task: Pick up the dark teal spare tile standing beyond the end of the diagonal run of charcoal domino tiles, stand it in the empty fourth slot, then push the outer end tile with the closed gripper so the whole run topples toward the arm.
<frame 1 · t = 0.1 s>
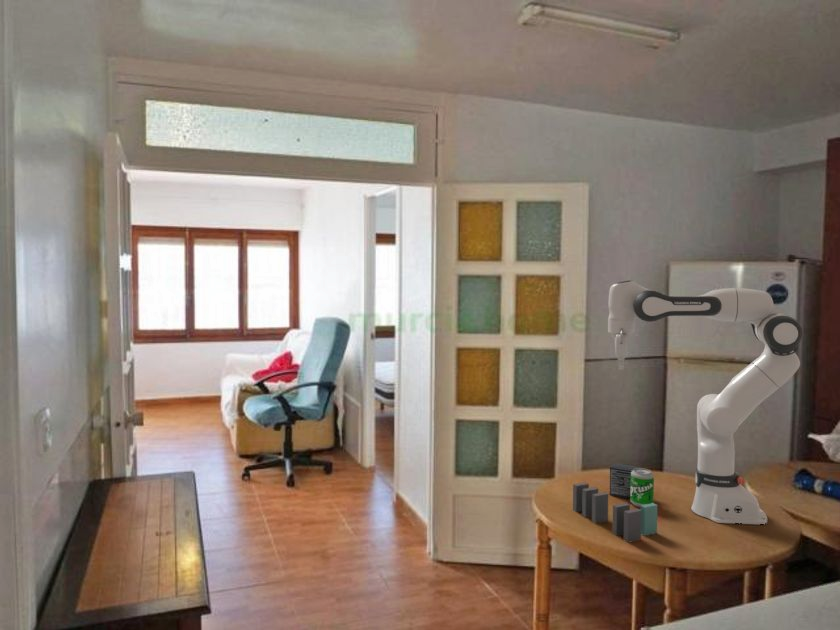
hand: (620, 367, 208), 48 cm above the table, fingers open, 8 cm apart
soda can: (641, 505, 209), on the table
domino 1: (580, 510, 205), on the table
domino 3: (599, 521, 196), on the table
domino 2: (590, 515, 200), on the table
small box: (626, 495, 218), on the table
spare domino: (648, 533, 186), on the table
domino 5: (620, 533, 186), on the table
domino 6: (632, 539, 182), on the table
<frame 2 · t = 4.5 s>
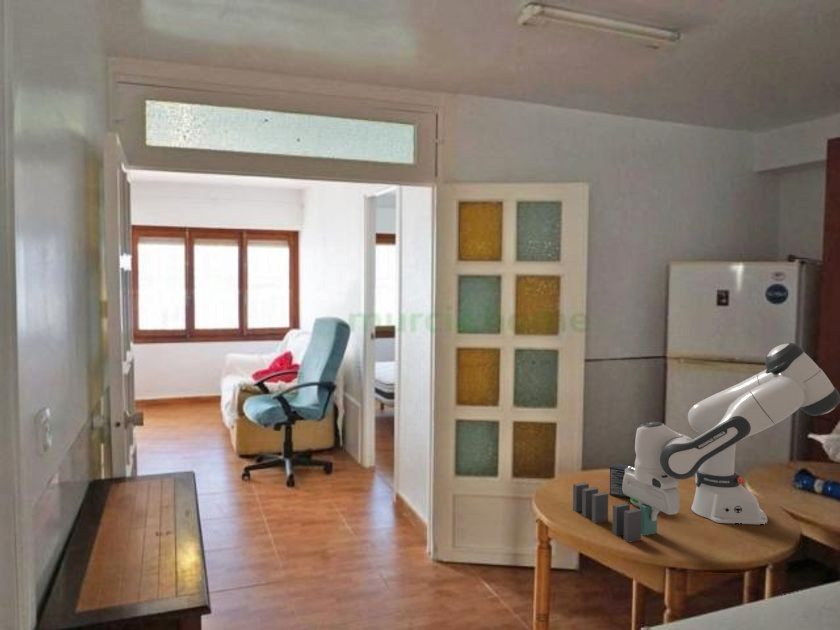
hand: (648, 518, 186), 5 cm above the table, fingers closed on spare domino, 2 cm apart
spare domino: (648, 533, 186), on the table, touching gripper
everything else where it was.
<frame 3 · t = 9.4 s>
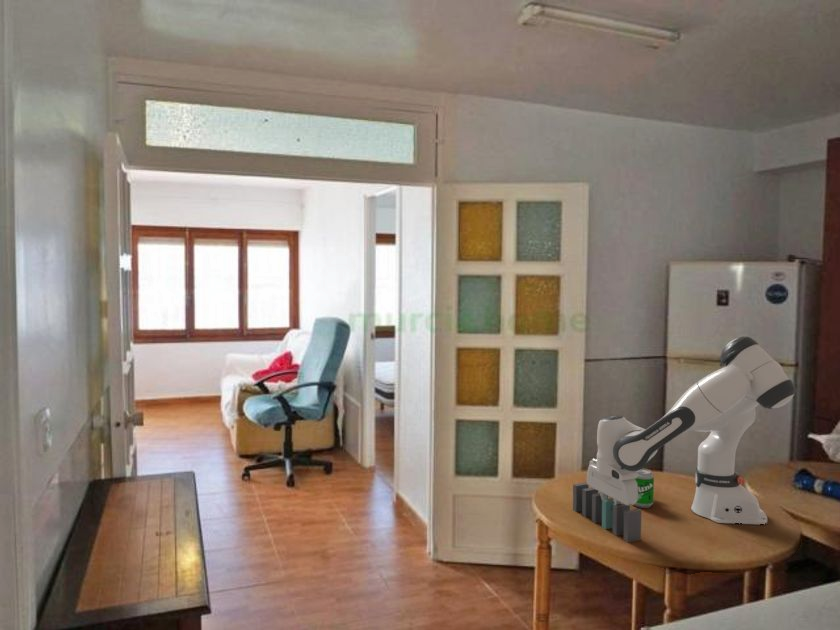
hand: (610, 508, 191), 6 cm above the table, fingers open, 3 cm apart
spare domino: (609, 527, 191), on the table
everything else where it was.
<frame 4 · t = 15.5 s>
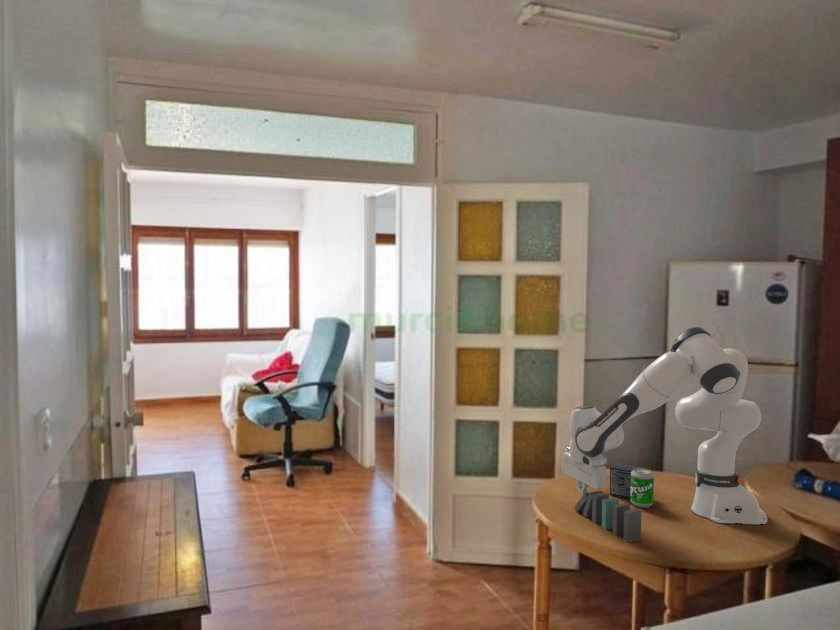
hand: (582, 493, 204), 6 cm above the table, fingers closed
domino 1: (581, 508, 205), point 1 cm above the table, tilted 41°
domino 2: (590, 514, 200), on the table, tilted 23°
everything else where it was.
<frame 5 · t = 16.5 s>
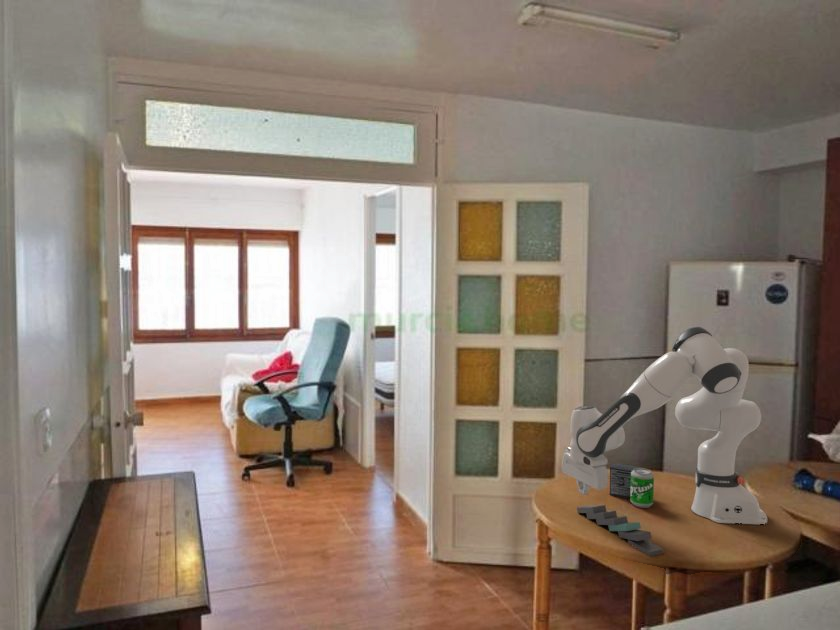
hand: (583, 493, 203), 6 cm above the table, fingers closed
domino 1: (583, 509, 203), point 1 cm above the table, tilted 69°, touching domino 2
domino 3: (602, 520, 194), point 1 cm above the table, tilted 69°, touching domino 2, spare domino
domino 2: (593, 514, 198), point 1 cm above the table, tilted 69°, touching domino 1, domino 3
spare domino: (615, 526, 189), point 1 cm above the table, tilted 68°, touching domino 3, domino 5
domino 5: (625, 532, 184), point 1 cm above the table, tilted 73°, touching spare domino
domino 6: (634, 540, 181), on the table, tilted 90°
everything else where it was.
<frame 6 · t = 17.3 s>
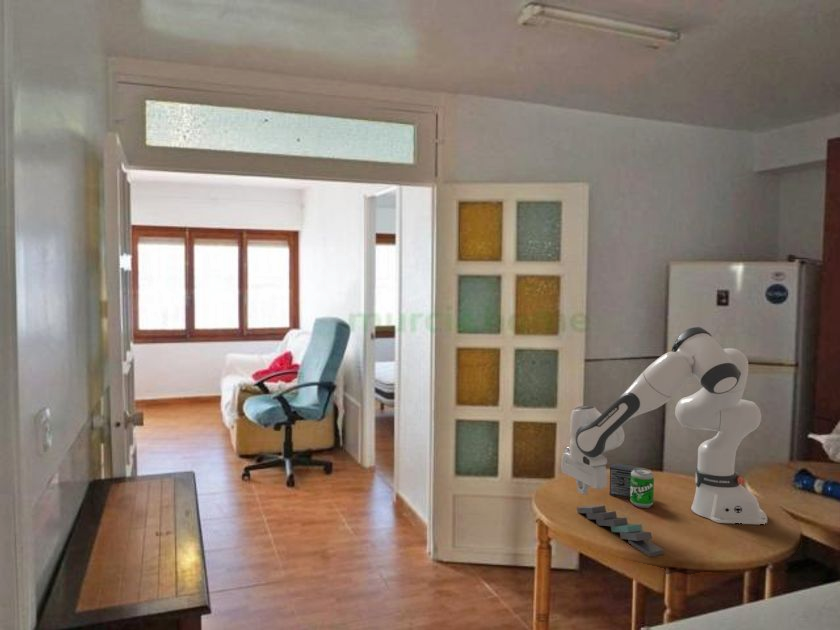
hand: (582, 493, 203), 6 cm above the table, fingers closed
domino 3: (602, 521, 194), point 1 cm above the table, tilted 70°, touching domino 2
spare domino: (618, 527, 188), point 1 cm above the table, tilted 69°, touching domino 5
domino 5: (627, 534, 183), point 1 cm above the table, tilted 70°, touching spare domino
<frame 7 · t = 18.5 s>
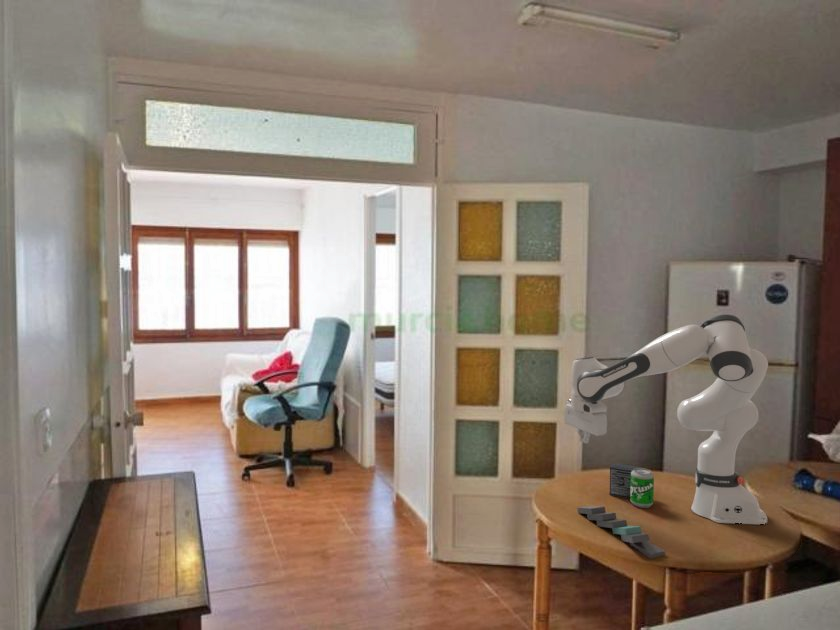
hand: (584, 442, 210), 22 cm above the table, fingers closed
domino 3: (603, 522, 193), point 1 cm above the table, tilted 72°, touching domino 2, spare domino
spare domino: (620, 529, 187), point 1 cm above the table, tilted 69°, touching domino 3, domino 5
domino 5: (629, 536, 181), point 1 cm above the table, tilted 69°, touching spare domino
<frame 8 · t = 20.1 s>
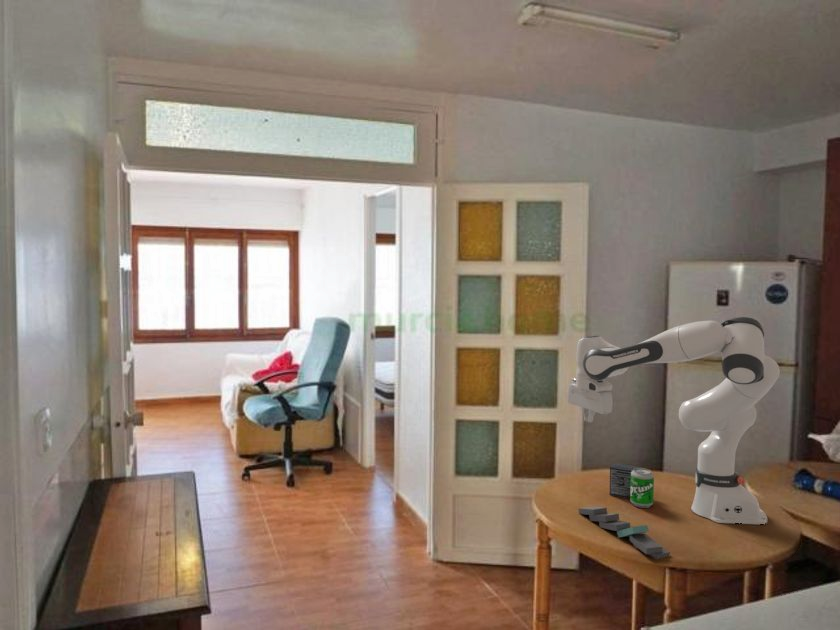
hand: (588, 421, 209), 29 cm above the table, fingers closed
domino 1: (585, 510, 203), point 1 cm above the table, tilted 72°
domino 3: (606, 523, 192), point 1 cm above the table, tilted 75°, touching domino 2
domino 2: (596, 516, 197), point 1 cm above the table, tilted 70°, touching domino 3
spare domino: (624, 533, 184), point 1 cm above the table, tilted 59°, touching domino 5
domino 5: (637, 537, 179), point 2 cm above the table, tilted 90°, touching domino 6, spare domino
domino 6: (639, 543, 179), on the table, tilted 90°, touching domino 5
everything else where it was.
at the end: domino 6 tilted 90°; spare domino tilted 58°; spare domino inside the target area (7.3 cm from its centre), point 0.7 cm above the table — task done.
